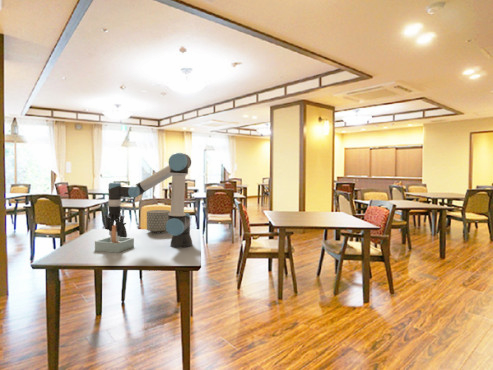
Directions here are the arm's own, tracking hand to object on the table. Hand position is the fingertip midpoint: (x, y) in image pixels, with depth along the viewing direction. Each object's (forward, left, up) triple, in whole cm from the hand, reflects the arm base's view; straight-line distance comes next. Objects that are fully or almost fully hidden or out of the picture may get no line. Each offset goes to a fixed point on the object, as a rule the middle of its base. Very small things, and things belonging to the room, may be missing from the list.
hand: (114, 240), depth 204 cm
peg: (0, 0, -4) cm, 4 cm away
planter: (0, -56, -6) cm, 56 cm away
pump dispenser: (+9, -17, -6) cm, 20 cm away
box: (0, 0, -6) cm, 6 cm away
